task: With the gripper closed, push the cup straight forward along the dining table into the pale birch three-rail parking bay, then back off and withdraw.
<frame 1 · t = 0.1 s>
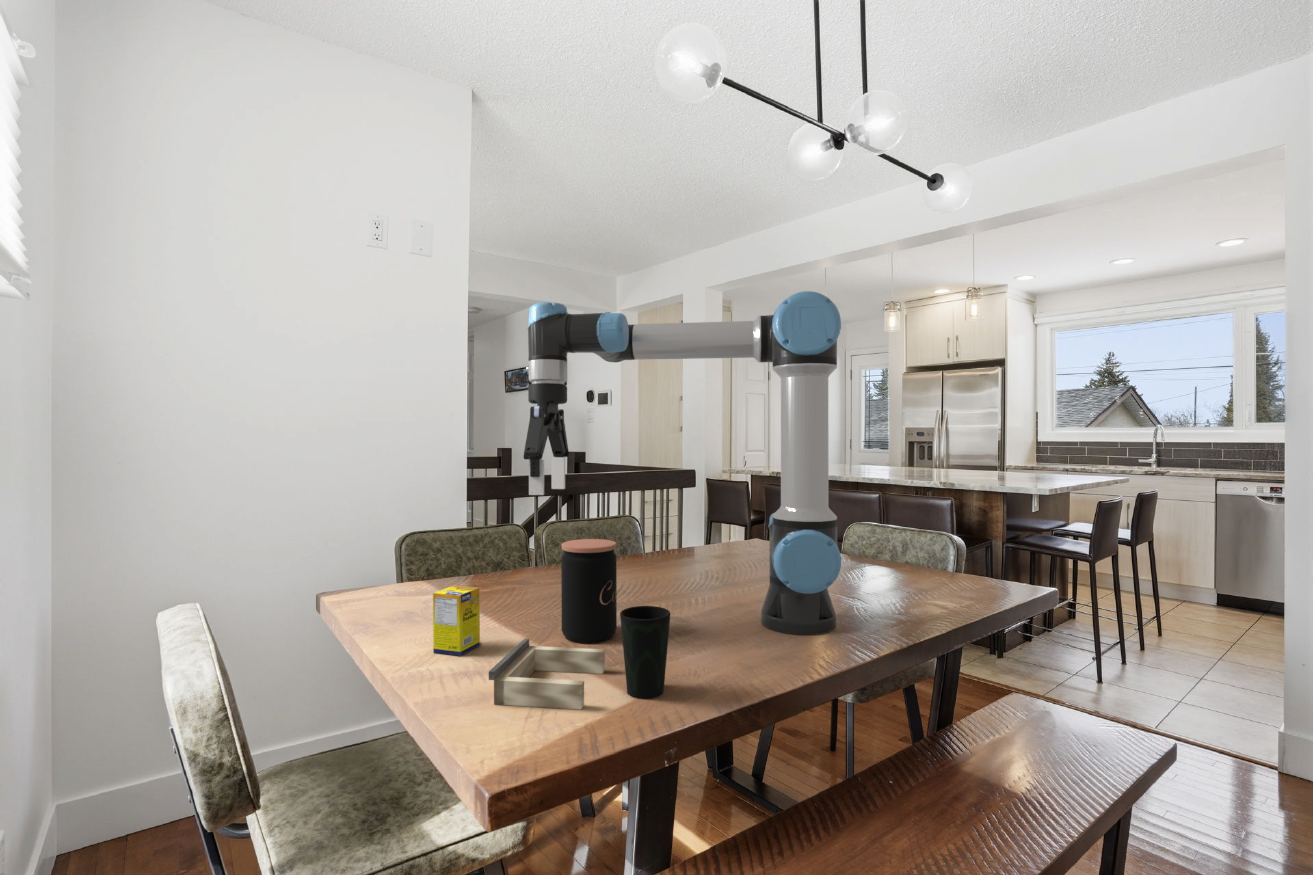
hand: (548, 491, 122), 28 cm above the table, fingers open, 13 cm apart
coffee jar: (589, 636, 122), on the table
cup: (645, 692, 95), on the table
bay: (556, 686, 97), on the table
supplement box: (456, 650, 114), on the table
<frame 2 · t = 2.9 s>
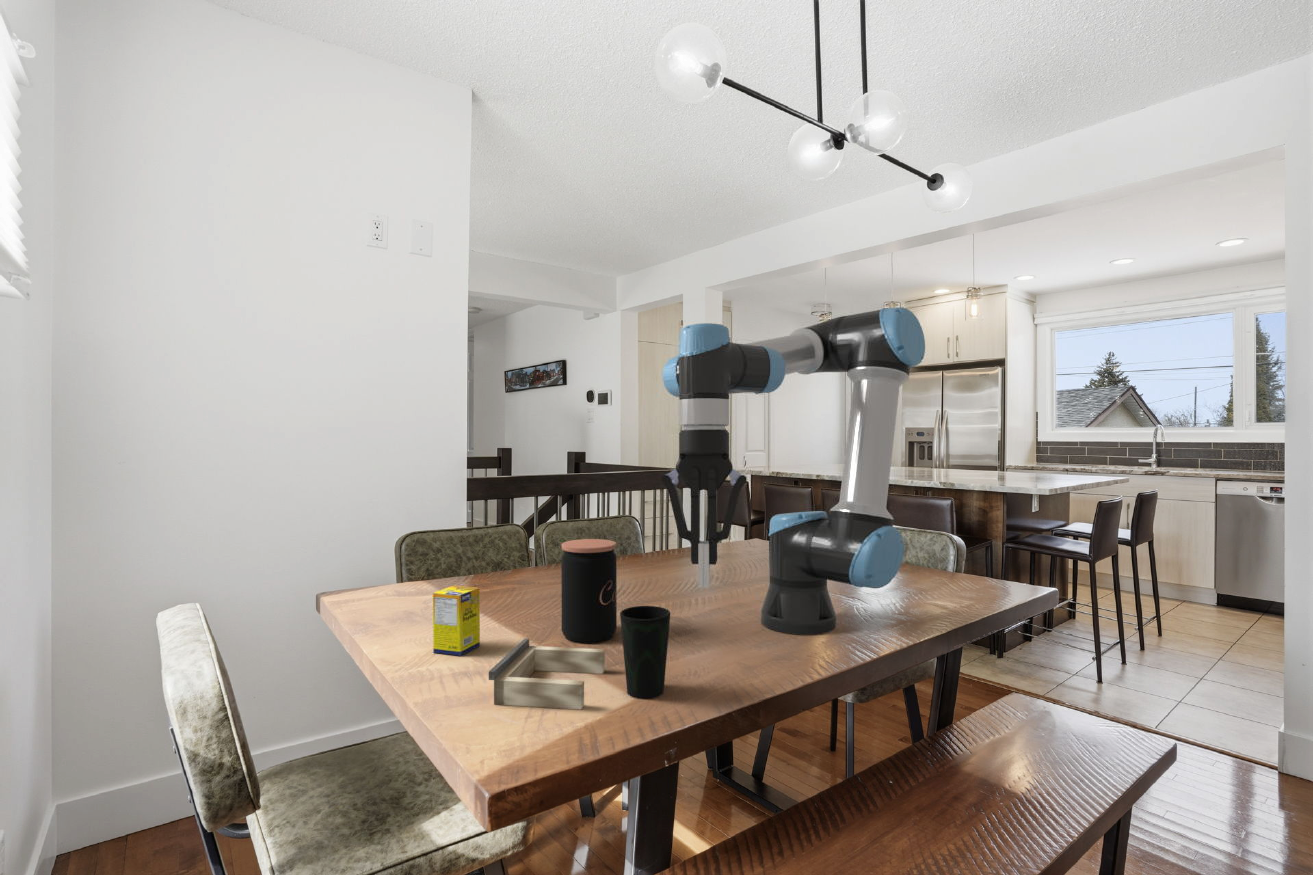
hand: (704, 585, 93), 16 cm above the table, fingers closed
nothing on the table moved.
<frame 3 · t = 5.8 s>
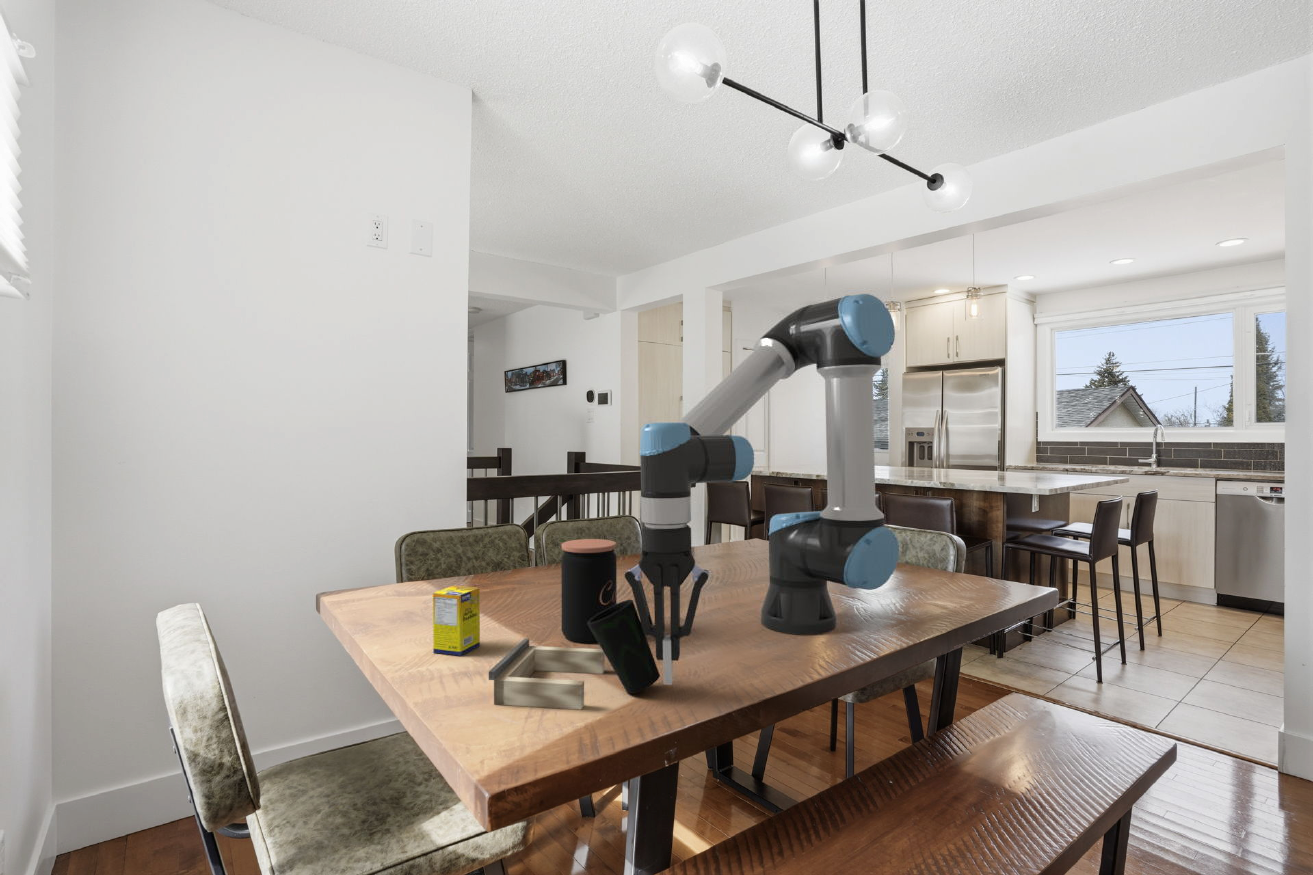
hand: (668, 680, 94), 2 cm above the table, fingers closed
cup: (644, 684, 95), point 1 cm above the table, touching gripper, hand
everything else where it was.
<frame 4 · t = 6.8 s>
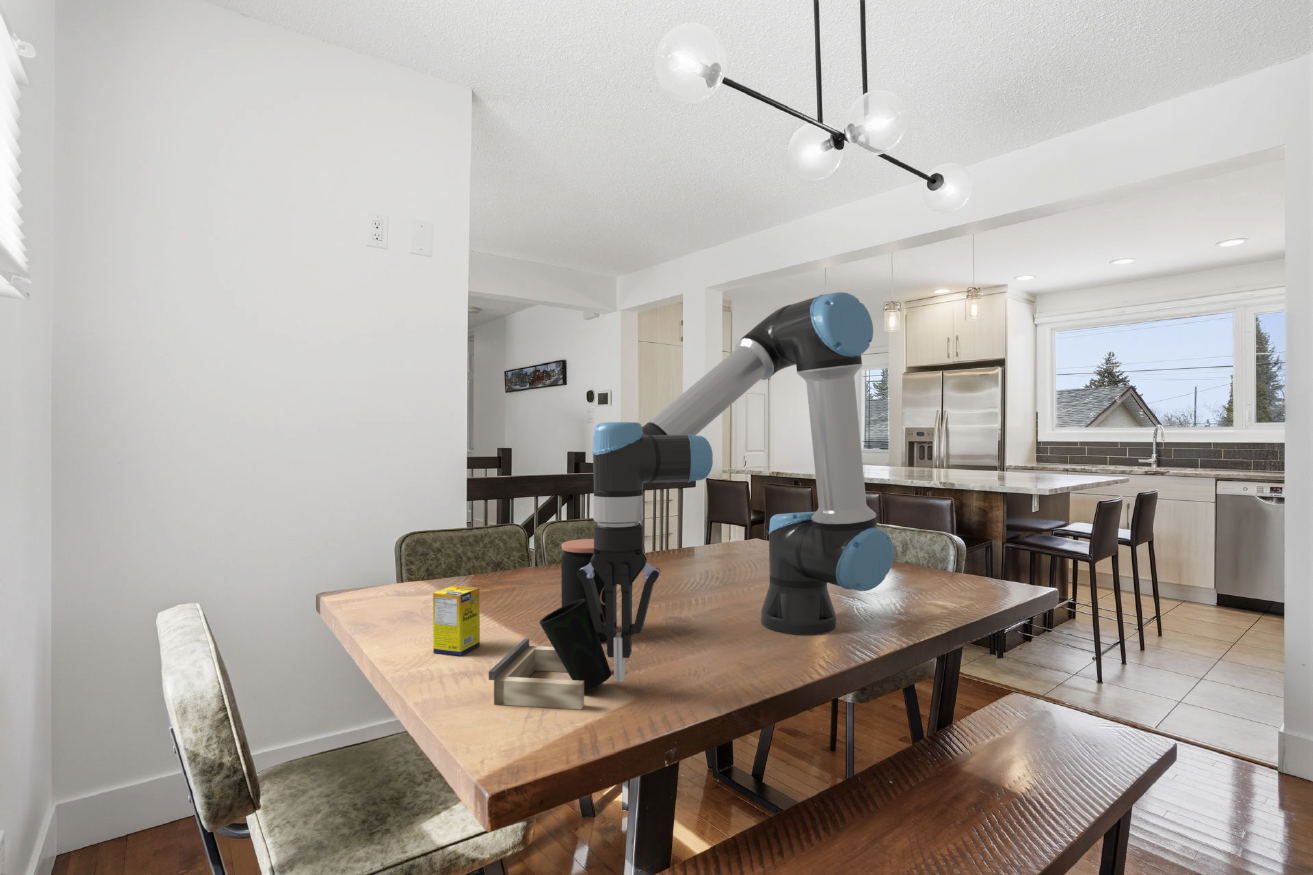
hand: (619, 678, 95), 2 cm above the table, fingers closed
cup: (595, 683, 95), point 1 cm above the table, touching gripper, hand
everything else where it was.
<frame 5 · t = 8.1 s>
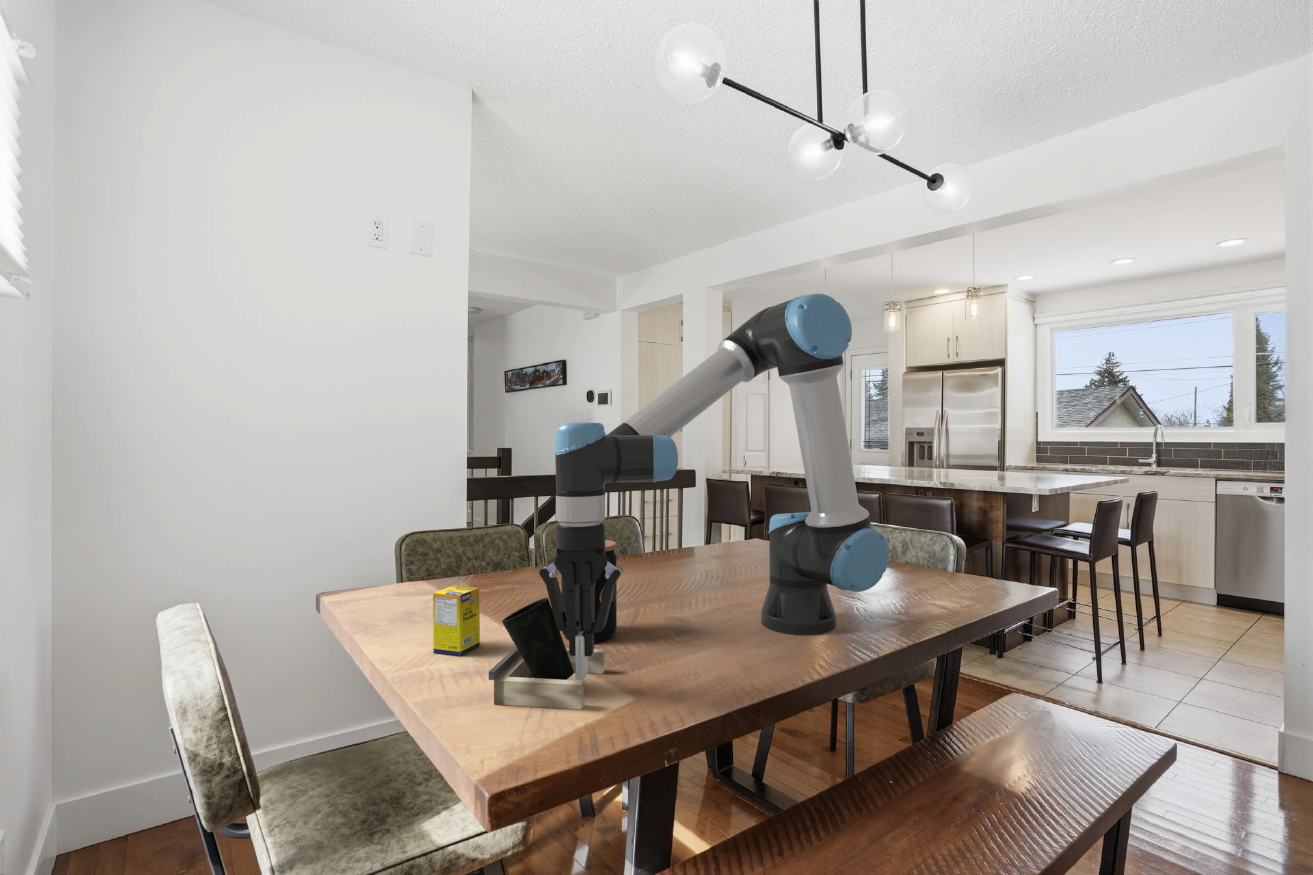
hand: (581, 676, 96), 2 cm above the table, fingers closed
cup: (558, 681, 96), point 1 cm above the table, touching gripper, hand
everything else where it was.
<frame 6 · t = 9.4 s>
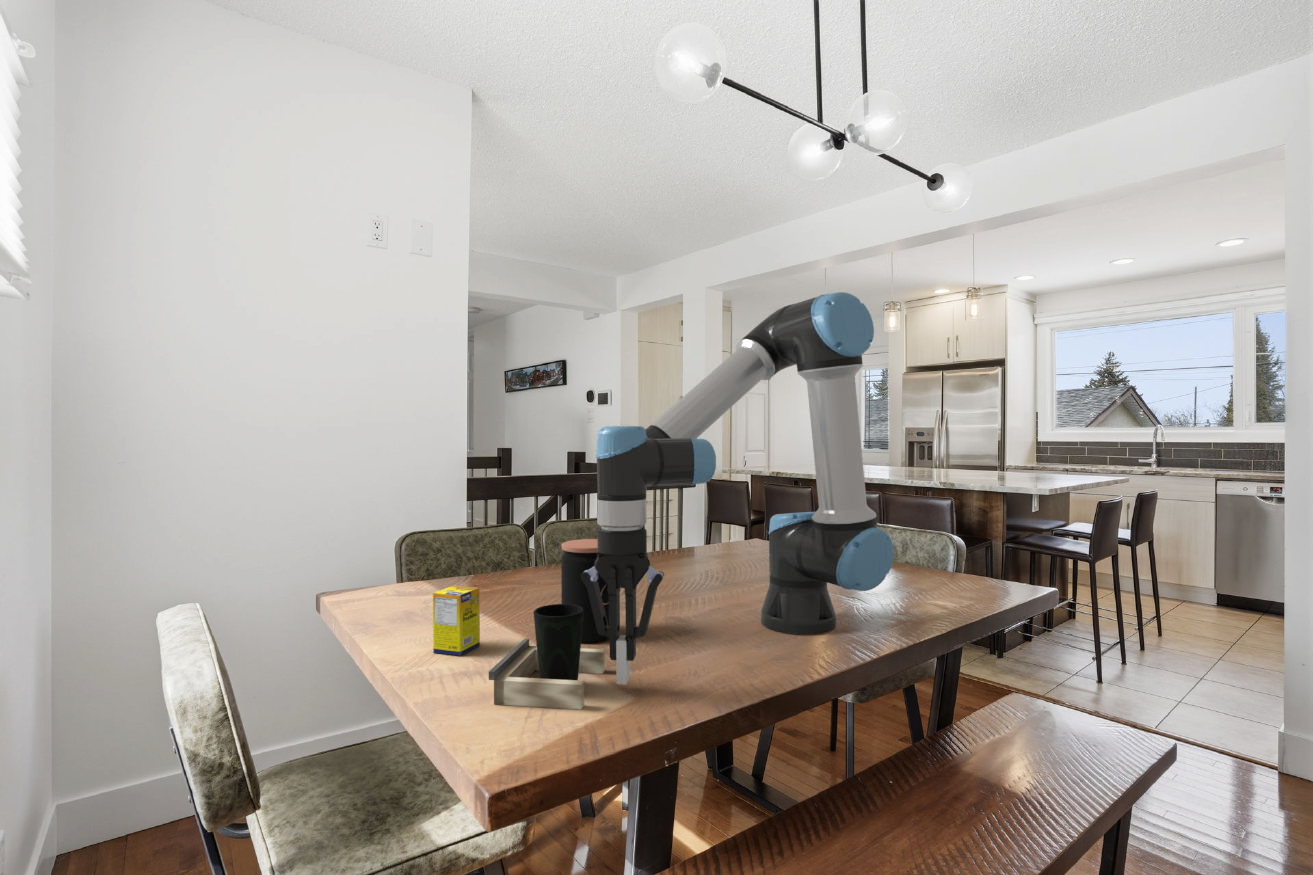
hand: (623, 680, 95), 1 cm above the table, fingers closed
cup: (559, 689, 96), on the table
everything else where it was.
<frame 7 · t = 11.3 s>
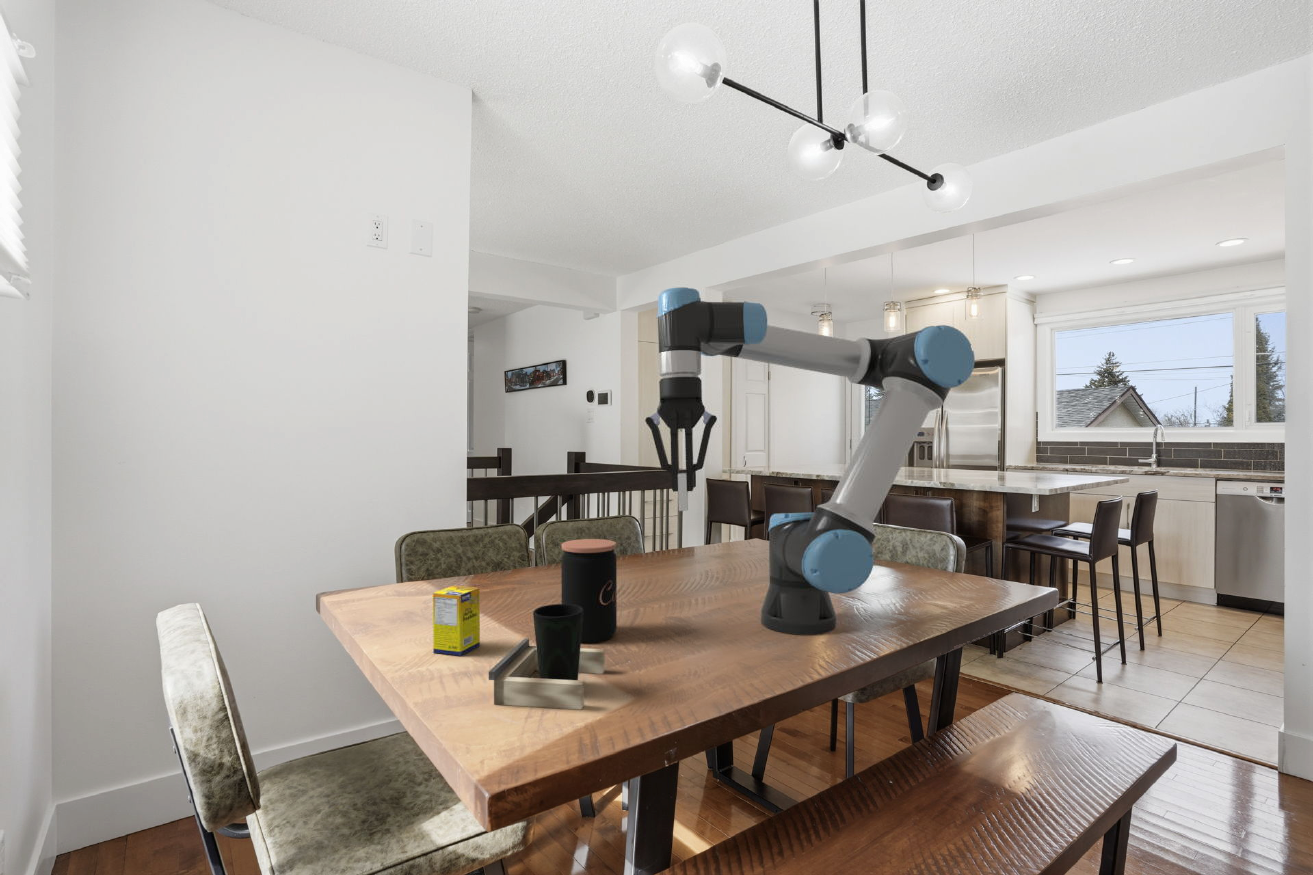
hand: (683, 509, 111), 26 cm above the table, fingers closed
nothing on the table moved.
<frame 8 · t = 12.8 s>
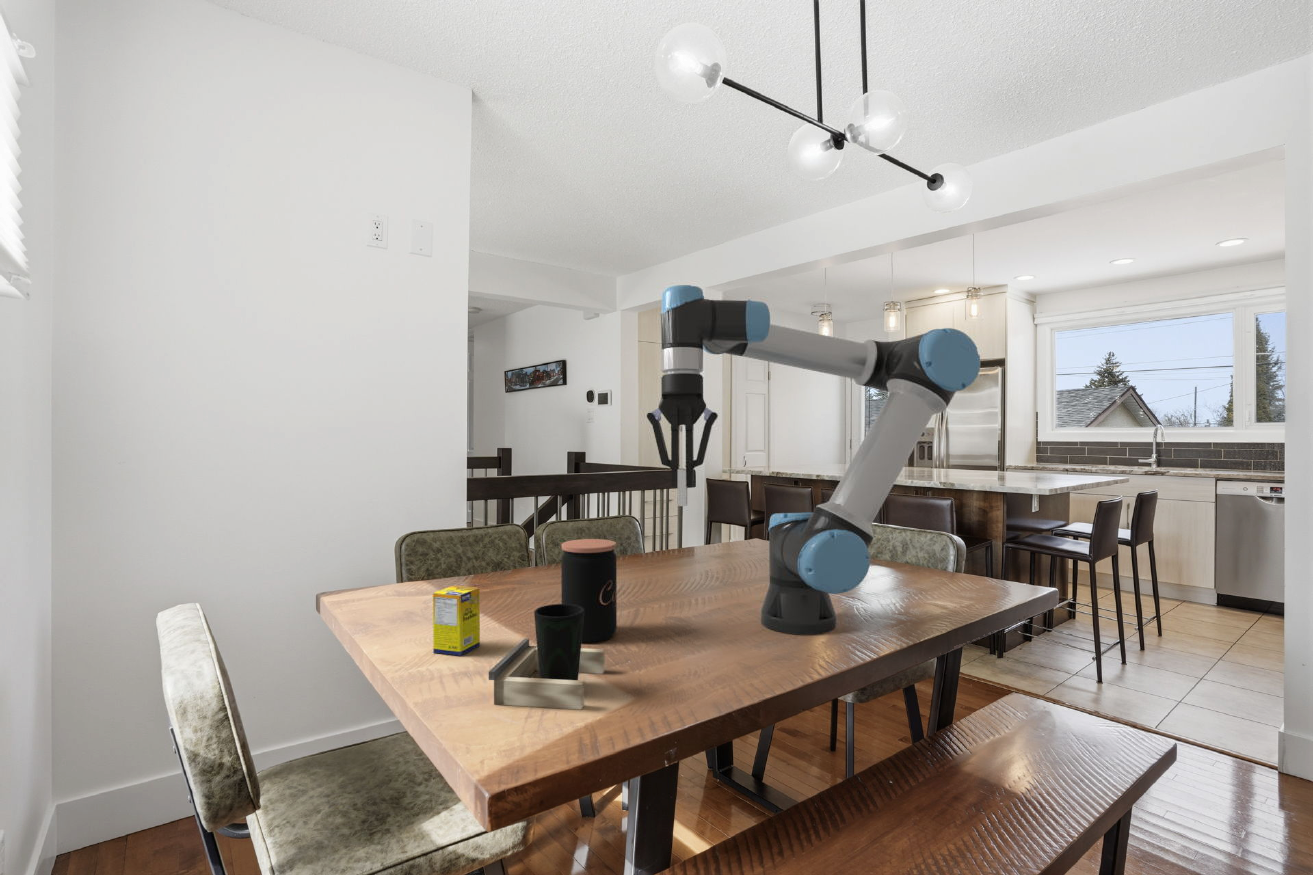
hand: (682, 505, 112), 26 cm above the table, fingers closed
nothing on the table moved.
at the end: cup inside the target area on the bay (1.0 cm from its centre), point 0.0 cm above the bay's base; cup tilted 0°; the gripper is holding nothing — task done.
